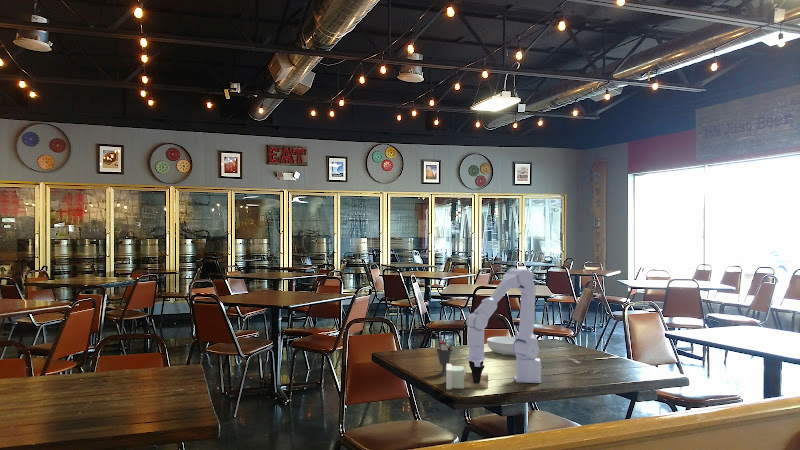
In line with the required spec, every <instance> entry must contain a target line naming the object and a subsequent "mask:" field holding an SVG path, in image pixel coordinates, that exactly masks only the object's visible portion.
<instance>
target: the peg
mask: <svg viewBox="0 0 800 450" xmlns="http://www.w3.org/2000/svg"><path fill="white" fill-rule="evenodd" d="M464 388H472V389H473V388H477V389H479V388H481V389H489V373H488V372H482V374H481V379H480V383H479V384H476V383H474V382H473V376H472V372H469V371H468V372H465V371H464Z"/></svg>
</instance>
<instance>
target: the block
mask: <svg viewBox="0 0 800 450" xmlns="http://www.w3.org/2000/svg"><path fill="white" fill-rule="evenodd" d="M464 372H465V367H464V366H463V365H452V389H465V387H464Z"/></svg>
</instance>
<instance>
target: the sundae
mask: <svg viewBox="0 0 800 450" xmlns="http://www.w3.org/2000/svg"><path fill="white" fill-rule="evenodd" d="M438 339H441V336H439V337H438ZM436 351H437V354H438V362H439V364H440V365H441V366H442V370H441V372H438V373H437V375H439V376H446V367H447V364H450V359H451V353H452V352H453V349H452V344H451V345H449V343H447V342H445V341H444V340H443V339H441V341H440V342H439V345H438V346H437V348H436Z"/></svg>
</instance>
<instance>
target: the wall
mask: <svg viewBox="0 0 800 450" xmlns="http://www.w3.org/2000/svg"><path fill="white" fill-rule="evenodd" d="M452 366H453V365H452V363H448V364H447V365H446V375H445V376H446V385H445V388H446V390H453V388H452Z"/></svg>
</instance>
